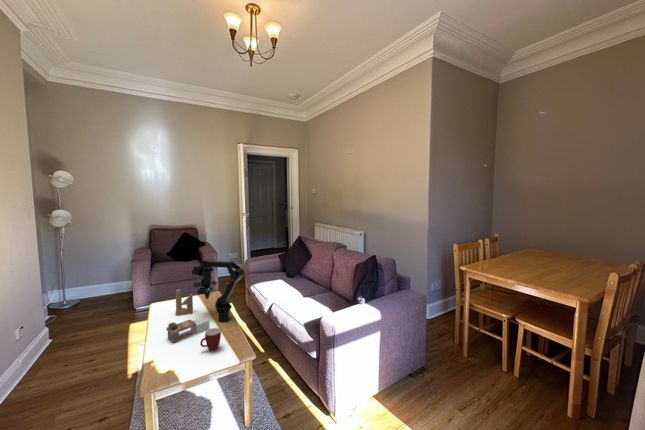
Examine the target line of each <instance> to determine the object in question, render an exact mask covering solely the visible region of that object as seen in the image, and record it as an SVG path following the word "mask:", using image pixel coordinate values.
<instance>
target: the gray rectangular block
mask: <svg viewBox="0 0 645 430" xmlns="http://www.w3.org/2000/svg"><path fill="white" fill-rule="evenodd" d="M192 321H193V322H195V323H196V326H194V327H191V328H190V331H191V332H193V333H195V334H196V335H197V334H201V333H203V332H206V331H207V330H209V329H210V320H209V319H207V318H206V317H204V316H201V317H199V318H196V319H193V320H192ZM167 339H168V340H169V341H170V342H171V343H173V344H175V343H178V342H179V341H180V332H178V333H175V334H173V335H172V334H171V333H170V332H168V331H167Z"/></svg>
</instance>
